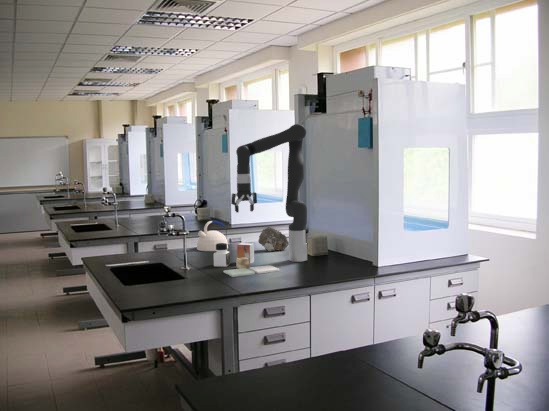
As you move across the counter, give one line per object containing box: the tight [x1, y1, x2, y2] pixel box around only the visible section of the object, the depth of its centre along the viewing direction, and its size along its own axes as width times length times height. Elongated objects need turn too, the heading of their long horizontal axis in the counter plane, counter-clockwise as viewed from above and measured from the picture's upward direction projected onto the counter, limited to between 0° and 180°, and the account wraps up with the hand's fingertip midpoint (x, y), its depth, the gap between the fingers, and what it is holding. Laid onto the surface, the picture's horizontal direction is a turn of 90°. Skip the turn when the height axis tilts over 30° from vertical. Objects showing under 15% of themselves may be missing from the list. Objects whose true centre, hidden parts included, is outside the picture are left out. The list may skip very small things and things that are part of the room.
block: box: [235, 257, 250, 269], centre depth 293 cm, size 5×5×5 cm
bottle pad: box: [223, 268, 256, 278], centre depth 279 cm, size 12×12×1 cm
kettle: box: [196, 220, 229, 252], centre depth 355 cm, size 20×21×18 cm
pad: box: [248, 264, 281, 274], centre depth 285 cm, size 12×12×1 cm
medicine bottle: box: [213, 243, 231, 268], centre depth 300 cm, size 7×7×12 cm
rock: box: [258, 226, 289, 252], centre depth 344 cm, size 18×14×15 cm
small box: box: [236, 242, 255, 265], centre depth 306 cm, size 8×6×10 cm
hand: (244, 211), depth 304 cm, fingers open, 8 cm apart
